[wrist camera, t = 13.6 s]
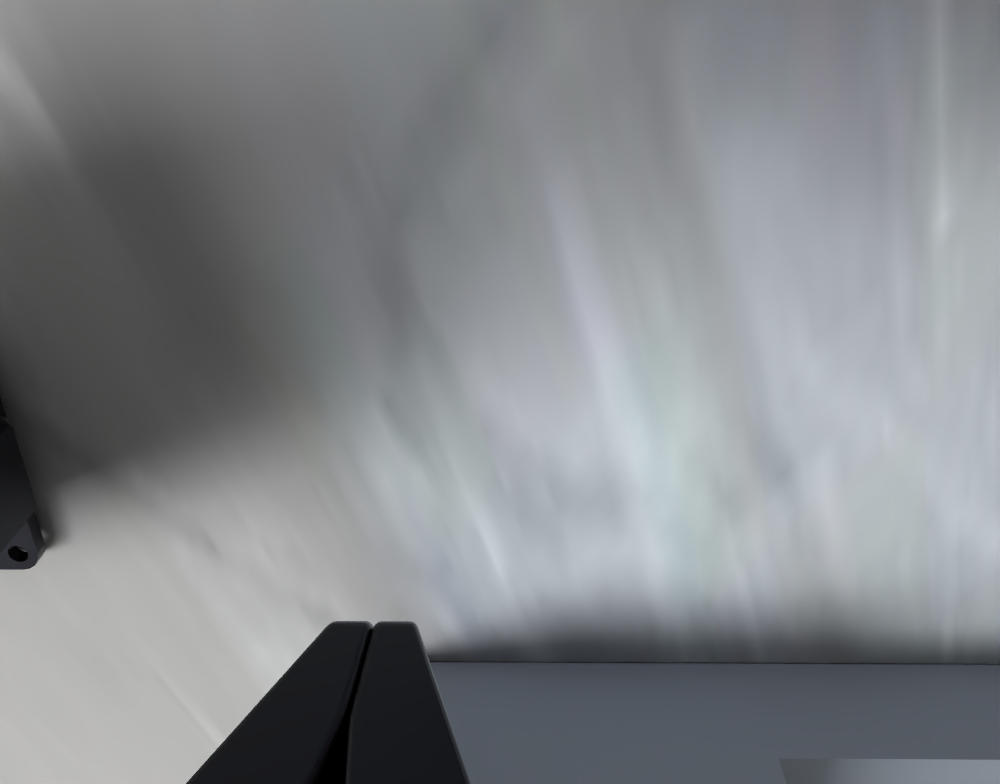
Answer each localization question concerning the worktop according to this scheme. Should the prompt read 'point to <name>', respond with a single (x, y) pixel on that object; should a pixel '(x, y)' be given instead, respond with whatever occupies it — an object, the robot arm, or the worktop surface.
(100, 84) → the worktop surface
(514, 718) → the slate stair
